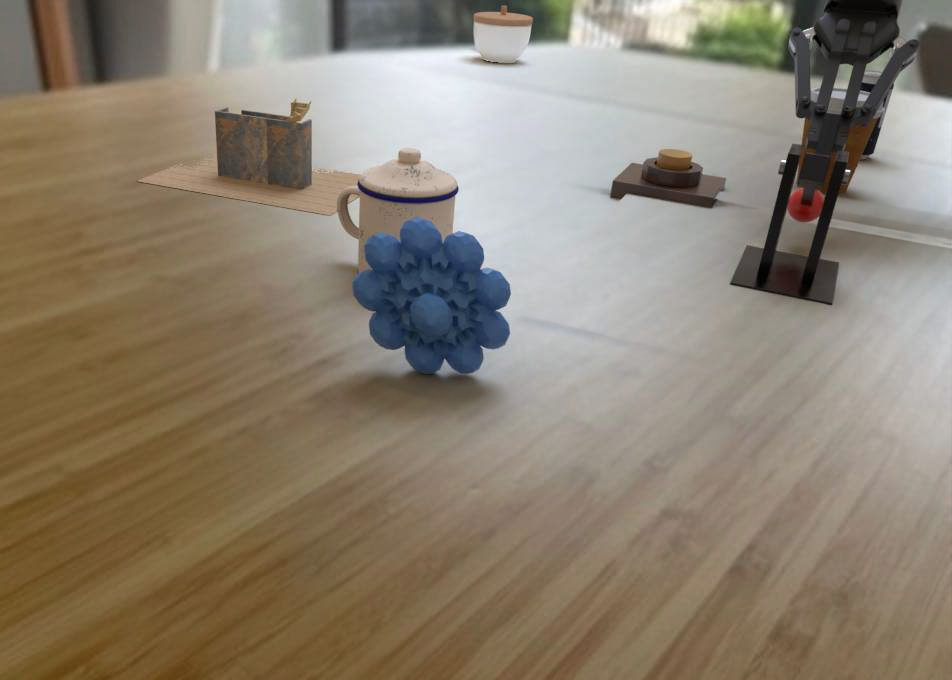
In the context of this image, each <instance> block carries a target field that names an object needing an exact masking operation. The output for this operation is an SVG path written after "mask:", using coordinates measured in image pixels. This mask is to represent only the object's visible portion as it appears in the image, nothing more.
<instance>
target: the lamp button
mask: <svg viewBox="0 0 952 680" xmlns="http://www.w3.org/2000/svg"><path fill="white" fill-rule="evenodd" d="M657 157H658V158H657V164H656V165H657V166H660V167H663V168H667V169H673V170H688V169H690V165H691V162H692V160H693V154H692V153H691V152H688V151H686V150H682V149H676V148H663V149H659V150H658V154H657Z"/></svg>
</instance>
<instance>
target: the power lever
mask: <svg viewBox="0 0 952 680" xmlns="http://www.w3.org/2000/svg"><path fill="white" fill-rule="evenodd" d="M830 160H831V156H824V155H817V154H811V153H805V157H804V161H803V164H802V168H801V172H800V175H799V179H798V184H796V187H797V189H796V190H794V191H792V192H791V195H790V199H789V203H788V207H787V213H788V215H789V216H790V217H791V218H792V219H793V220H794V221H796V222H799V223H810V222H813V221H815V220H817V219H819V216H820V212H821V209H822V205H823V202H824V198H825V195H824V194H823V193H821V192H820V191H822V189H823V185H824V182H825V178H826V175H827V171H828V167H829V164H830Z"/></svg>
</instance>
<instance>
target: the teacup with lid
mask: <svg viewBox="0 0 952 680" xmlns="http://www.w3.org/2000/svg"><path fill="white" fill-rule="evenodd" d="M397 155H398V156H397V158H393V159H391V160H388V161H387V162H384V163H383V164H381V165H378V166H373V167H370V168H368V169H365V170H363V172H361V174H360V175H361V176H360V177H359V180H358V183H357V186H351V187H348V188H346V189H344V190H343V191H342V192H341V193H340V194H339V196H338V200H337V211H336V212H337V216H338V220H339V222H340V224H341V227H342V228H343V229H344V231H345V232H346V233H347V234H348V235H349V236H351V237H352V238H354V239H356V240H358V248H357V249H358V250H357V251H358V253H357V255H358V256H357V269H358V273H360V272H363V271H365V270H368V269H370V270H373V269H372V268H371V267H370V266H369V264H368V263H367V261H366V260H365V252H364V246H365V243H366V242H367V240H368V238H369V237H371V236H373V235H376V234H378V233H380V232H382V233H386V234H389V235H391V236H394V237H396V238H397V240H398V241H399V242H400V243H401V241H400V230H401V228H402V226H403V224H404V222H406V221H408V220H411V219H413V218H415V217H420V218H423V219H426V220H429V221H431V222H432V223H433V224H434V225H435V227H436V228H437V229H438V231H439V232H440V233H441V236H442V244H443V242H444V240H445V238H446V236H448V235H450V234H453V233H454V220H455V206H456V205H455V204H456V195H458V193H459V190H460V189H459V185H458V182H457V179H456V178H455V177H454V175H452V174H451V173H450V172H448V171H446V170H442V169H441V168H440V169H439V168H436V166H434V165H433V164H431V163H430V162H428V161H426V160H424V159H422V153H421V151H420V149H418V148H414V147H403V148H401V149H400V150H399V151H398V154H397ZM351 194H353V195H358V196H359V207H358V209H359V211H358V214H359V215H358V227H357V225H356V224H355V223H354V222H353V220H352V218H351V215H350V212H349V208H348V207H349V203H348V198H349V196H350V195H351Z"/></svg>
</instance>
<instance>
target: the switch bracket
mask: <svg viewBox="0 0 952 680" xmlns="http://www.w3.org/2000/svg"><path fill="white" fill-rule="evenodd" d="M802 150H803V145H801V144H798V143H791V145H790V148H789V150H788V153H787V156H786V159H784V158H782V159H781V160H780V162H779V165H778V166H779V167H778V171H777V175H778V176H779V175H780V176H781V180H780V183H779V188H778V191H777V195H776V198H775V203H774V207H773V212H772V214H771V218H770V223H769V226H768V230H767V234H766V238H765V242H764V246H763V247H758V246H753V245H748V244H746V247H745V248H744V251H743V253H742V256H741V257H740V260H739V262H738V264H737V266H736V269H735V270H734V273H733V275H732V277H731V279H730V282H729V285H730V286H735V287H741V288H744V289H745V288H746V289H751V290H755V291H760V292H764V293H768V294H769V293H770V294H774V295H779V296H785V297H790V298H795V299H799V300H804V301H808V302H814V303H820V304H823V305H829V306H833V303H834V297H835V291H836V284H837V279H838V274H839V273H838V272H839V267H840V262H839V261H834V260H828V259H824V258H821V255H822V253H823V249H824V245H825V243H826V239H827V235H828V232H829V229H830V224H831V222H832V218H833V214H834V211H835V207H836V205H837V204H836V203H837V200H838V197H839V194H840V193H839V190H840V187H841V184H842V185H847V183H848V179H849V176H850V172H851V170H850V169H846V166H847V162H848V157H849V152H847V151H840V150H838V152H837V155H836V159H835V163H834V166H833V170H832V173H831V177H830V180H829V184H828V187H827V191H826V193H825V195H824V202H823V205H822V209H821V212H820V216H819V217H818V218H817V219H818V220H817V223H816V227H815V230H814V234H813V238H812V241H811V243H810V248H809V252H808V255H807V256H806V255H802V254H796V253H792V252H791V253H790V252H785V251H781V250H777V248H778V245H779V240H780V237H781V233H782V229H783V225H784V222H785V218H786V214H787V212H788V210H787V207H788V203H789V199H790V196H791V194H792V193H793V187H794V183H795V180H796V177H797V174H798V167H799V161H800V157H801V153H802Z"/></svg>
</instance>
